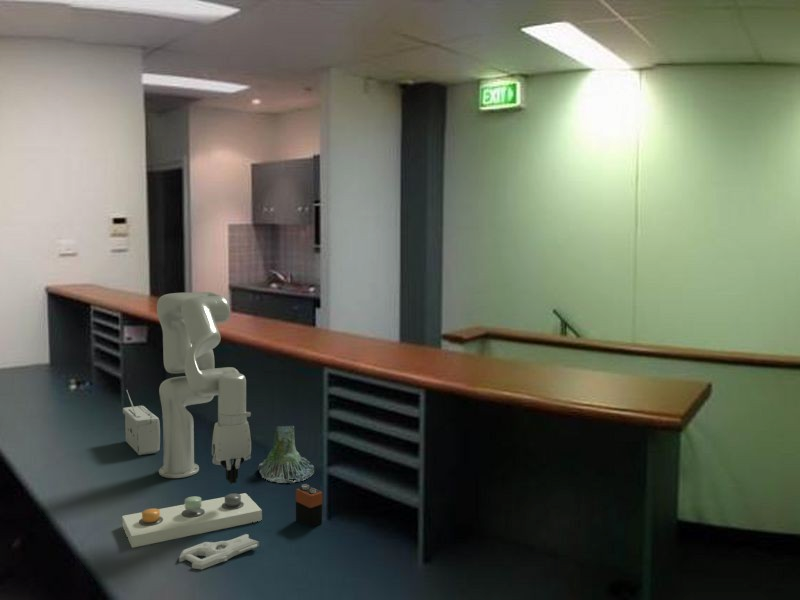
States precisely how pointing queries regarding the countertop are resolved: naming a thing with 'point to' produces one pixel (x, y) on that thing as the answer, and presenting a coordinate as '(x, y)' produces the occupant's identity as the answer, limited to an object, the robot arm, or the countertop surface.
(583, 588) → the countertop surface
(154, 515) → the orange button
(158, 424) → the stereo radio cassette player
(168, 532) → the button panel
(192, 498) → the sage button
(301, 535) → the countertop surface
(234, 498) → the charcoal button
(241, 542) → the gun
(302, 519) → the battery
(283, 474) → the tree stump
